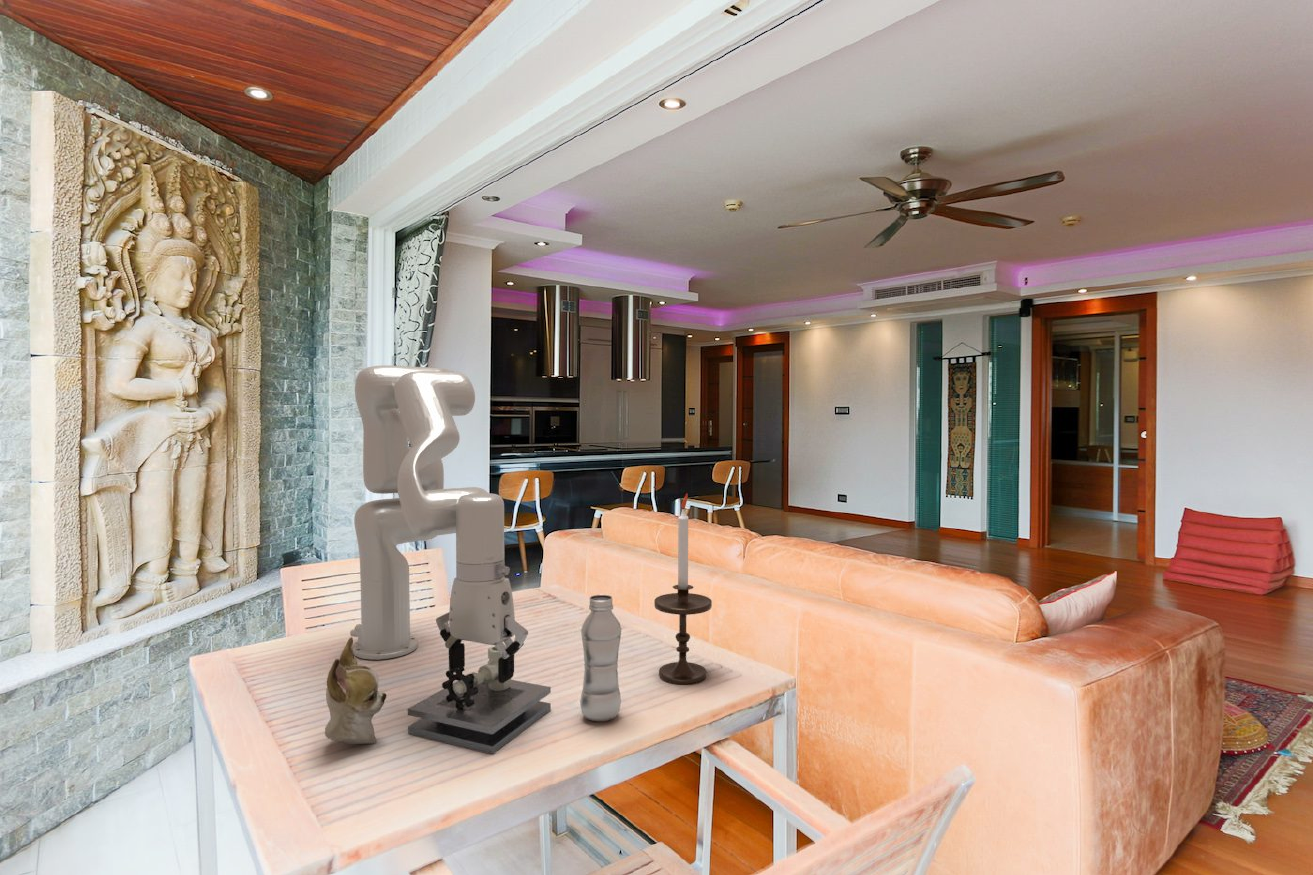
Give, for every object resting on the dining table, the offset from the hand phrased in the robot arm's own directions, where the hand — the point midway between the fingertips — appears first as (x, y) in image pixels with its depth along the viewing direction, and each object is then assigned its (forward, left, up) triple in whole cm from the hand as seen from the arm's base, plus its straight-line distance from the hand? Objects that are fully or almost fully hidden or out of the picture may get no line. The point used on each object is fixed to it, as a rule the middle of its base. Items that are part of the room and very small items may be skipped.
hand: (481, 674), depth 112 cm
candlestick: (+23, +31, -8) cm, 39 cm away
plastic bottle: (+17, +9, -8) cm, 21 cm away
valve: (0, +1, -4) cm, 4 cm away
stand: (0, 0, -8) cm, 8 cm away
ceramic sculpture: (-12, -14, -8) cm, 20 cm away
